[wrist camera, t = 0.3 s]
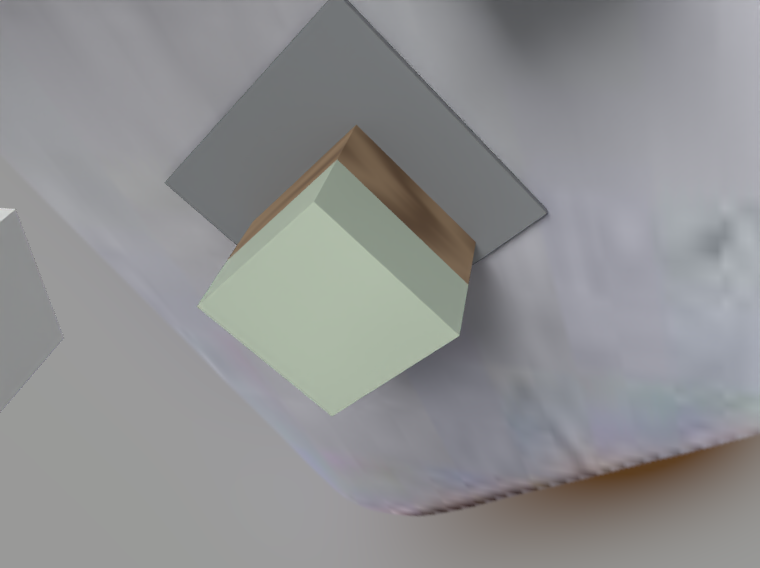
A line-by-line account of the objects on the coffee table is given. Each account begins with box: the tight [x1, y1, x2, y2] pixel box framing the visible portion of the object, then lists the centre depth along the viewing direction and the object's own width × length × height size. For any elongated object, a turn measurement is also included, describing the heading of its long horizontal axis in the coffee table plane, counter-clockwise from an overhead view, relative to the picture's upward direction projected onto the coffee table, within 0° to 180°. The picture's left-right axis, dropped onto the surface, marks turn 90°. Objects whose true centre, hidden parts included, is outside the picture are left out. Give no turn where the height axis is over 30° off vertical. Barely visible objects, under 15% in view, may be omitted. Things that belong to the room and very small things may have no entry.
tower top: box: [197, 160, 468, 416], centre depth 36 cm, size 9×9×4 cm
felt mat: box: [165, 0, 547, 265], centre depth 40 cm, size 15×15×1 cm
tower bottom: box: [228, 125, 476, 284], centre depth 39 cm, size 9×9×4 cm
